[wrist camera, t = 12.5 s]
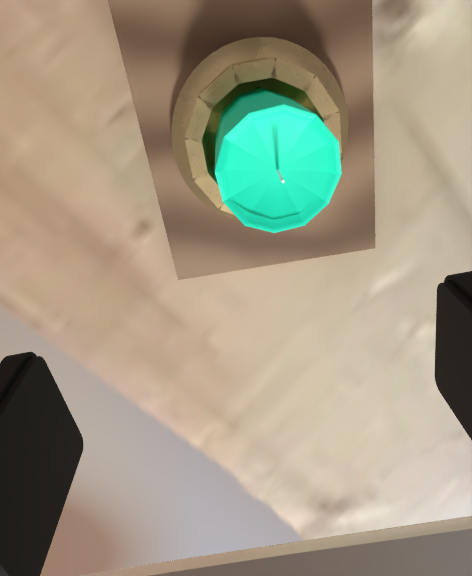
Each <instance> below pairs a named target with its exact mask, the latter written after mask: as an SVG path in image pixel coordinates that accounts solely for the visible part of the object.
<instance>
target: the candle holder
mask: <svg viewBox="0 0 472 576" xmlns="http://www.w3.org/2000/svg"><path fill="white" fill-rule="evenodd" d="M260 88H265V89H268V90H271V91H274V92H277V93H280V94H283V95H286V96H287V97H289V98H291V99H292V100H294V101H295V102H297V103H299V104H300V105H302V106H304V107H305V108H307V109H308V110H310V111H312V112H313V113H315V114H316V115H317V116H318V117H319V118H320V119H321V120H322V122H323V123H324V124H325V125H326V127H327V128H328V129H329V130H330V131H331V133H332V134H333V135H334V136H335V138H336V139H337V140H338V141H339V148H340V160H341V163H342V160H343V157H344V154H345V150H346V146H347V139H348V115H347V108H346V104H345V100H344V97H343V94H342V92H341V89H340V87H339V85H338V83H337V81H336V79H335V77H334V76H333V74H332V73H331V72H330V70H329V69H328V68H327V66H326V65H325V64H324V63H323V62H322V61H321V60H320V59H319V58H318V57H316V56H315V55H314V54H312V53H311V52H310V51H308V50H307V49H305V48H303V47H301V46H299V45H298V44H295V43H292V42H290V41H287V40H283V39H278V38H273V37H254V38H246V39H242V40H238V41H235V42H232V43H230V44H228V45H225V46H223V47H221V48H220V49H218V50H216V51H215V52H213V53H212V54H210V55H209V56H208V57H207V58H205V59H204V60H203V61H202V62H201V63H200V64H199V65H198V66H197V67H196V68H195V69H194V70H193V72H192V73H191V75H190V76H189V77H188V79H187V80H186V82H185V84H184V86H183V87H182V89H181V91H180V93H179V96H178V99H177V102H176V104H175V108H174V113H173V117H172V128H171V135H172V147H173V153H174V157H175V160H176V164H177V166H178V169H179V171H180V173H181V176H182V177H183V179H184V181H185V182H186V184H187V186H188V187H189V188H190V189H191V191H192V192H193V193H194V195H196V196H197V197H198V198H199V199H200V200H201V201H202V202H203V203H204V204H205V205H207V206H208V207H209V208H211V209H212V210H214V211H216V212H217V213H219V214H221V215H224V216H226V217H228V218H231V219H235V220H238V221H240V220H239V219H238V218H237V217H236V216H235V214H234V213H233V212H232V211H231V210H230V209H229V208H228V207H227V206H226V205H225V204H224V203H223V201H222V197H221V193H220V190H219V186H218V182H217V179H216V175H215V145H216V133H217V129H218V125H219V121H220V117H221V114H222V111H223V110H224V109H225V108H226V107H227V106H228V105H229V104H230V103H231V102H232V101H233V100H234V99H235V98H236V97H237V96H238V95H239V94H241V93H245V92H248V91H252V90H256V89H260Z"/></svg>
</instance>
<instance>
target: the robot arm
mask: <svg viewBox="0 0 472 576" xmlns="http://www.w3.org/2000/svg"><path fill="white" fill-rule="evenodd" d="M435 381H436V384H437V387H438V389H439V391H440V393H441V394H442V396H443V397H444V399H445V400H446V402H447V403H448V405H449V406H450V408H451V410H452V411H453V413H454V414H455V416H456V417H457V419H458V420H459V422H460V423H461V425H462V426H463V428H464V429H465V431H466V432H467V434H468V435H469V437H470V438H471V440H472V271H470V272H464V273H459V274H453V275H448V276H447V277H446V278H445V280H444V283H440V284H439V285H438V287H437V313H436V349H435ZM82 451H83V438H82V435H81V433H80V431H79V429H78V427H77V425H76V423H75V421H74V419H73V417H72V415H71V413H70V411H69V409H68V407H67V405H66V403H65V401H64V398H63V397H62V394H61V393H60V390H59V388H58V386H57V384H56V382H55V380H54V378H53V376H52V374H51V372H50V370H49V368H48V366H47V364H46V362H45V360H44V359H43V358H42V357H40V356H38V357H37V356H36V355H35V354H34V353H33V352H27V353H21V354H16V355H11V356H6V357H5V358H4V359H3V360H2V361H1V363H0V576H40V574H41V571H42V568H43V565H44V562H45V559H46V556H47V553H48V550H49V547H50V545H51V542H52V539H53V536H54V533H55V530H56V527H57V524H58V521H59V518H60V516H61V513H62V510H63V507H64V504H65V501H66V498H67V495H68V492H69V489H70V486H71V483H72V481H73V478H74V475H75V471H76V469H77V466H78V463H79V460H80V457H81V454H82ZM78 576H472V516H470V517H462V518H455V519H448V520H441V521H435V522H428V523H421V524H414V525H407V526H400V527H394V528H387V529H380V530H373V531H366V532H359V533H353V534H346V535H339V536H332V537H325V538H318V539H312V540H305V541H299V542H292V543H286V544H279V545H272V546H266V547H259V548H253V549H246V550H239V551H233V552H226V553H220V554H213V555H207V556H200V557H193V558H187V559H180V560H174V561H167V562H161V563H154V564H148V565H141V566H135V567H129V568H123V569H116V570H111V571H104V572H97V573H91V574H85V575H78Z"/></svg>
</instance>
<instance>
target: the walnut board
mask: <svg viewBox="0 0 472 576" xmlns="http://www.w3.org/2000/svg"><path fill="white" fill-rule="evenodd" d="M108 2H109V6H110V10H111V14H112V18H113V22H114V26H115V30H116V34H117V38H118V42H119V46H120V50H121V54H122V58H123V62H124V66H125V70H126V74H127V78H128V82H129V86H130V90H131V94H132V98H133V102H134V105H135V109H136V113H137V117H138V121H139V125H140V129H141V133H142V137H143V141H144V145H145V149H146V153H147V157H148V161H149V165H150V169H151V173H152V177H153V181H154V185H155V189H156V193H157V197H158V201H159V205H160V209H161V213H162V217H163V221H164V225H165V229H166V233H167V237H168V241H169V245H170V249H171V253H172V257H173V261H174V264H175V268H176V272H177V276H178V280H181V279H187V278H193V277H199V276H205V275H212V274H218V273H224V272H230V271H236V270H242V269H249V268H255V267H261V266H267V265H273V264H279V263H286V262H292V261H298V260H304V259H310V258H317V257H323V256H329V255H335V254H341V253H347V252H354V251H360V250H366V249H372V248H375V194H374V121H373V47H372V0H108ZM254 37H273V38H278V39H283V40H287V41H290V42H292V43H295V44H298V45H299V46H301V47H303V48H305V49H307V50H308V51H310V52H311V53H312V54H314V55H315V56H316V57H318V58H319V59H320V60H321V61H322V62H323V63H324V64H325V65H326V66H327V68H328V69H329V70H330V72H331V73H332V74H333V76H334V77H335V79H336V81H337V83H338V85H339V87H340V89H341V92H342V94H343V97H344V100H345V104H346V108H347V115H348V139H347V146H346V150H345V154H344V157H343V160H342V163H341V171H342V174H341V177H340V179H339V181H338V183H337V186H336V188H335V190H334V193H333V195H332V197H331V199H330V202H329V204H328V205H327V206H325V207H324V208H323V209H322V210H321V211H320V212H319V213H318V214H317V215H316V216H315V217H313V218H312V219H311V220H310V221H309V222H308V223H307V224H306V225H305V226H301V227H297V228H293V229H289V230H285V231H281V232H276V233H272V232H268V231H264V230H260V229H256V228H252V227H248V226H245V225H244V224H243V223H242V222H241V221H238V220H235V219H231V218H228V217H226V216H224V215H221V214H219V213H217V212H216V211H214V210H212V209H211V208H209V207H208V206H207V205H205V204H204V203H203V202H202V201H201V200H200V199H199V198H198V197H197V196H196V195H194V193H193V192H192V191H191V189H190V188H189V187H188V186H187V184H186V182H185V181H184V179H183V177H182V176H181V173H180V171H179V169H178V166H177V164H176V160H175V157H174V153H173V147H172V135H171V128H172V117H173V113H174V108H175V104H176V102H177V99H178V96H179V93H180V91H181V89H182V87H183V86H184V84H185V82H186V80H187V79H188V77H189V76H190V75H191V73H192V72H193V70H194V69H195V68H196V67H197V66H198V65H199V64H200V63H201V62H202V61H203V60H204V59H205V58H207V57H208V56H209V55H210V54H212V53H213V52H215V51H216V50H218V49H220V48H221V47H223V46H225V45H228V44H230V43H232V42H235V41H238V40H242V39H246V38H254Z"/></svg>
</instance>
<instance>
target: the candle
mask: <svg viewBox="0 0 472 576" xmlns="http://www.w3.org/2000/svg"><path fill="white" fill-rule="evenodd" d="M341 174H342V171H341V160H340V148H339V141H338V140H337V139H336V138H335V136H334V135H333V134H332V133H331V131H330V130H329V129H328V128H327V127H326V125H325V124H324V123H323V122H322V120H321V119H320V118H319V117H318V116H317V115H316V114H315V113H313V112H312V111H310V110H308V109H307V108H305V107H304V106H302V105H300V104H299V103H297V102H295V101H294V100H292V99H291V98H289V97H287V96H286V95H283V94H280V93H277V92H274V91H271V90H268V89H265V88H260V89H256V90H252V91H248V92H245V93H241V94H239V95H238V96H237V97H236V98H235V99H234V100H233V101H232V102H231V103H230V104H229V105H228V106H227V107H226V108H225V109H224V110H223V111H222V114H221V117H220V121H219V125H218V129H217V133H216V145H215V175H216V179H217V182H218V186H219V190H220V193H221V197H222V201H223V203H224V204H225V205H226V206H227V207H228V208H229V209H230V210H231V211H232V212H233V213H234V214H235V216H236V217H237V218H238V219H239V220H240V221H241V222H242V223H243V224H244V225H245V226H248V227H252V228H256V229H260V230H264V231H268V232H272V233H276V232H281V231H285V230H289V229H293V228H297V227H301V226H305V225H306V224H307V223H308V222H309V221H310V220H311V219H312V218H313V217H315V216H316V215H317V214H318V213H319V212H320V211H321V210H322V209H323V208H324V207H325V206H327V205H328V204H329V202H330V199H331V197H332V195H333V193H334V190H335V188H336V186H337V183H338V181H339V179H340V177H341Z"/></svg>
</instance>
